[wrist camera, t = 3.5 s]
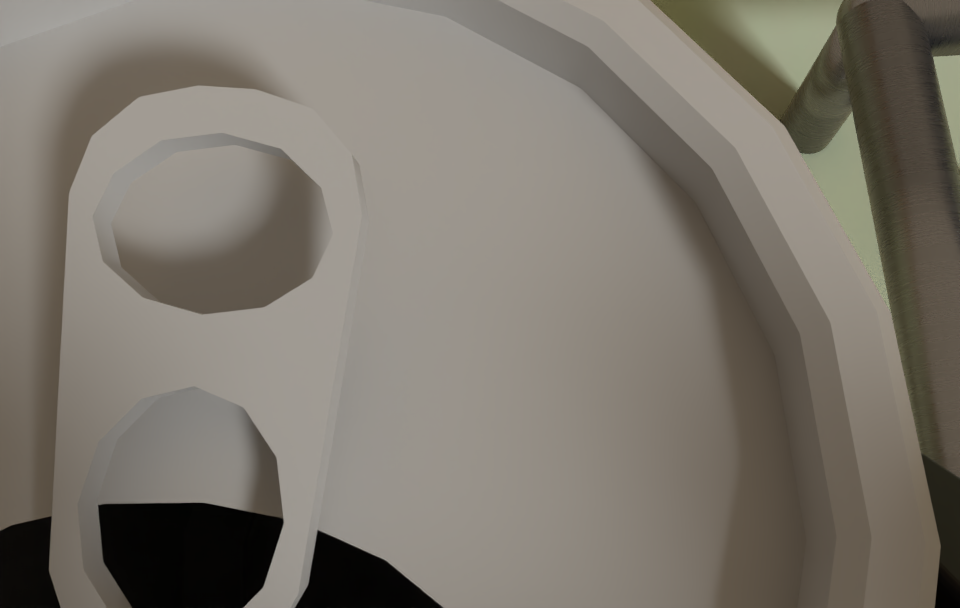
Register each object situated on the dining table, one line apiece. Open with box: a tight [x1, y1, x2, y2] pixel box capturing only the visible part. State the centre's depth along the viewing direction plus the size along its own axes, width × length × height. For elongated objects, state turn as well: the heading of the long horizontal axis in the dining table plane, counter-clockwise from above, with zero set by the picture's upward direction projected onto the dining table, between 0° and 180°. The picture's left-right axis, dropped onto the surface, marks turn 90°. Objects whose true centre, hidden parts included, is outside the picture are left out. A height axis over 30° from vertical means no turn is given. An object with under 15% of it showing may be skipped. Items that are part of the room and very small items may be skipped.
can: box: [0, 0, 941, 608], centre depth 9 cm, size 8×8×12 cm
